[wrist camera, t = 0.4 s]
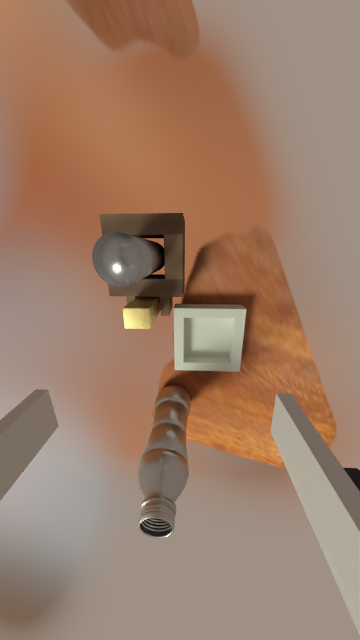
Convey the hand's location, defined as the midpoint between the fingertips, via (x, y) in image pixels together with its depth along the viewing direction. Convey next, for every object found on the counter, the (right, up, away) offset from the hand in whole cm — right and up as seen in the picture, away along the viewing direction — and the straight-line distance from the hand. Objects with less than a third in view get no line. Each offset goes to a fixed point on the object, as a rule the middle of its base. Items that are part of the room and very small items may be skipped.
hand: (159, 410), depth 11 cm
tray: (+6, +3, +23) cm, 24 cm away
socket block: (-3, +14, +20) cm, 24 cm away
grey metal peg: (-3, +15, +19) cm, 25 cm away
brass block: (-3, +8, +18) cm, 20 cm away
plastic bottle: (0, -9, +28) cm, 29 cm away
